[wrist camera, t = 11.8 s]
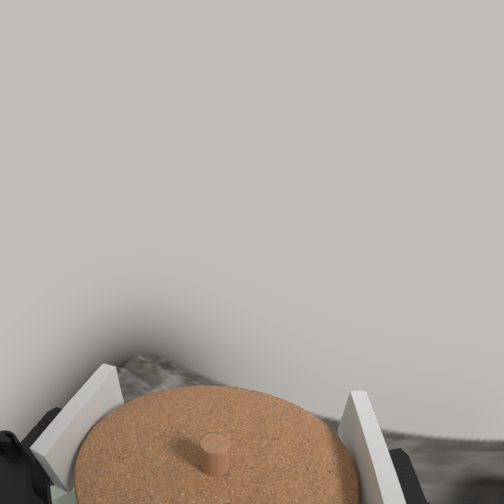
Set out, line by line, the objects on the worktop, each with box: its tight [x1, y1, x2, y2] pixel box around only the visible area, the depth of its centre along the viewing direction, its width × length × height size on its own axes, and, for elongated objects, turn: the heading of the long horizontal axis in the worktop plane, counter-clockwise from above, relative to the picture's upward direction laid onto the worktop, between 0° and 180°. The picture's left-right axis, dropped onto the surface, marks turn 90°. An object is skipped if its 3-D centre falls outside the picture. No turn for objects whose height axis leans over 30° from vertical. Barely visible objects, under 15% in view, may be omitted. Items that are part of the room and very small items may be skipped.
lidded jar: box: [74, 385, 360, 504], centre depth 9 cm, size 11×11×9 cm
